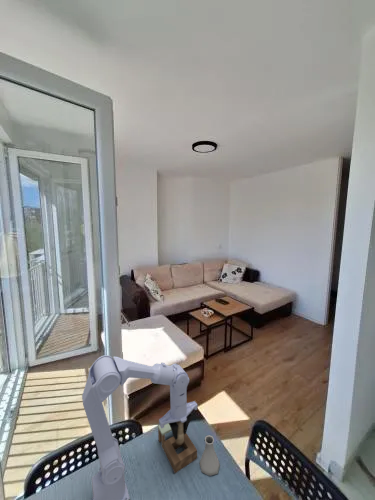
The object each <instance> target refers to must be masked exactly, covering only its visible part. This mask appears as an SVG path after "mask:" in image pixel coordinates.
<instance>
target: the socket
mask: <svg viewBox="0 0 375 500" xmlns="http://www.w3.org/2000/svg"><path fill="white" fill-rule="evenodd" d="M181 447H182V448H183V451H181V452H180V453H178V452H176V450H178V449H179V448H181ZM162 451H163V452H164V454H165V456H166V458H167V460H168V462H169V464H170V466H171V468H172V470H173V473H174V474H177V473H178V472H179V471H181V470H182V469H185V467H187V466H189V464H191V463H193V462H194V461H196V460H197V459H198V448H196V445H194V443H193V442H192V440H191V437H190V436H189V434H187V432H186V434H185V435H184V442H183V444H181V445H178V444H176V440H175V438H174V436H173V435H172V436H171V437H169V438H168V439H165V441H164V442H163V448H162Z"/></svg>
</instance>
